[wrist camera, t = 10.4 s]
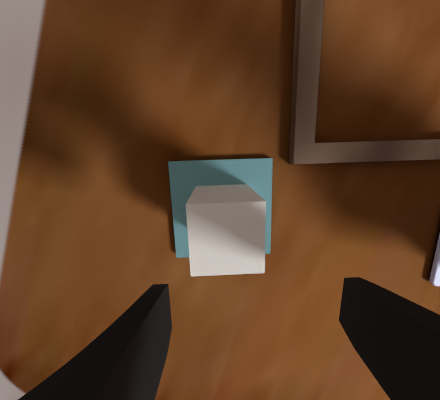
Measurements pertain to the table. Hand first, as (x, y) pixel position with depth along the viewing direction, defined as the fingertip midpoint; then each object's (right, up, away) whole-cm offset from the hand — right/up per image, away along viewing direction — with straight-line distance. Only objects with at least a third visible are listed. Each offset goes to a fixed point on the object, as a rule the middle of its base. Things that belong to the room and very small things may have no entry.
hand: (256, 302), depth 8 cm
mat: (-1, +3, +9) cm, 9 cm away
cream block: (-1, +3, +8) cm, 9 cm away
